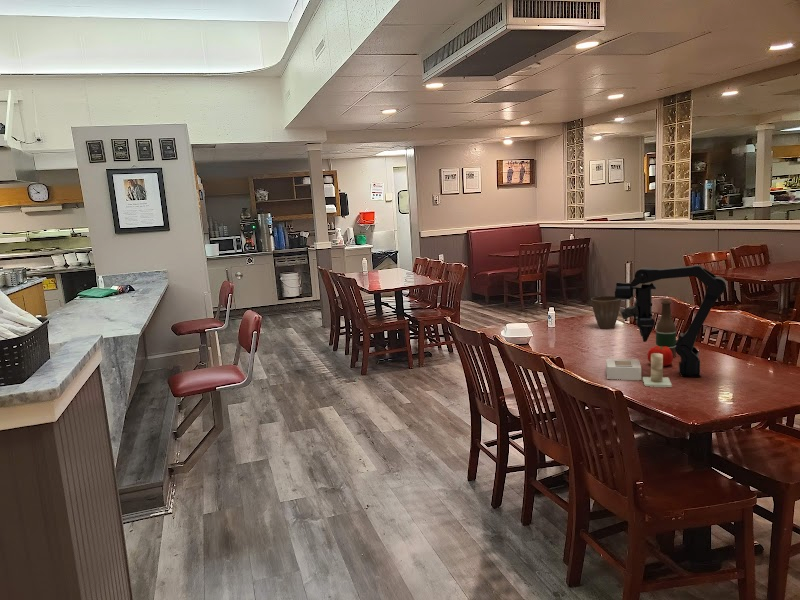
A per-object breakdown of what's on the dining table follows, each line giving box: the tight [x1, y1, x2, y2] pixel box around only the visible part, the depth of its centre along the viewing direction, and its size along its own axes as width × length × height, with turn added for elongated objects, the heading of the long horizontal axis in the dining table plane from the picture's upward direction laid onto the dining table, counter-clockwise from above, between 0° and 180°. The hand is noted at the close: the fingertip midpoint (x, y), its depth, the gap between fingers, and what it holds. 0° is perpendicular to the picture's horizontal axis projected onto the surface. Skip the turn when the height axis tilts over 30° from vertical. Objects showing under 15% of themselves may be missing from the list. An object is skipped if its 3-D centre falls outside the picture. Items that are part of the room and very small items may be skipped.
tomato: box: [647, 345, 674, 367], centre depth 231 cm, size 9×9×8 cm
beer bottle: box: [655, 300, 677, 358], centre depth 241 cm, size 8×8×24 cm
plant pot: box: [590, 295, 622, 330], centre depth 301 cm, size 15×15×16 cm
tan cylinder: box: [650, 353, 664, 382], centre depth 208 cm, size 4×4×10 cm
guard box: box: [605, 358, 642, 381], centre depth 220 cm, size 12×12×5 cm
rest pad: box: [641, 376, 673, 388], centre depth 209 cm, size 9×9×1 cm
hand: (643, 338), depth 223 cm, fingers open, 9 cm apart
